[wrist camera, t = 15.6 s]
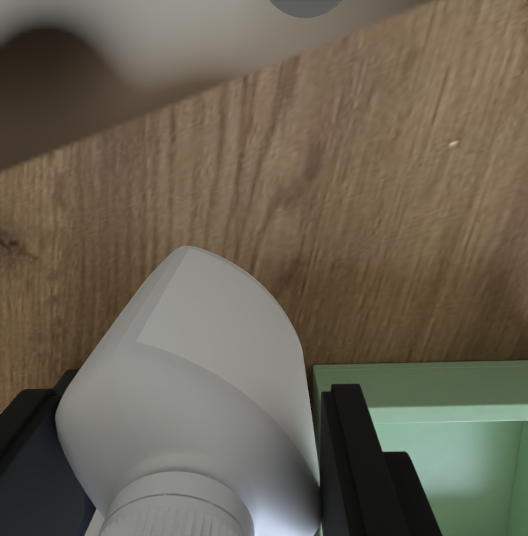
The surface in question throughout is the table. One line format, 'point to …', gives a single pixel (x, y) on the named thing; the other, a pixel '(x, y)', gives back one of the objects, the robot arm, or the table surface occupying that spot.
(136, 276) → the table surface
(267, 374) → the eye dropper bottle
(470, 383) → the sage bin
